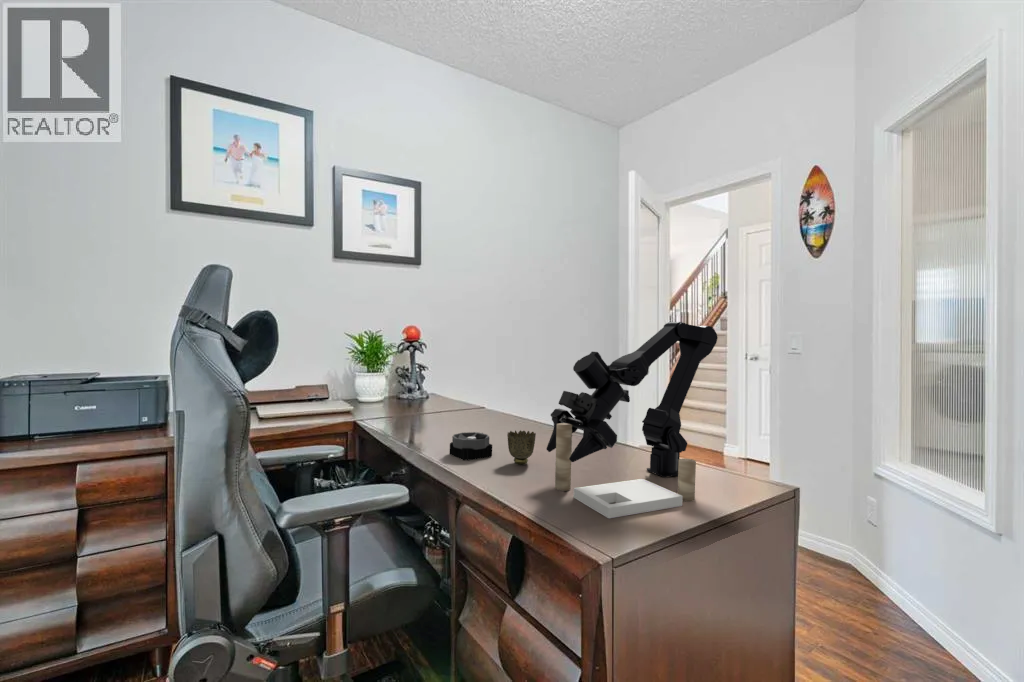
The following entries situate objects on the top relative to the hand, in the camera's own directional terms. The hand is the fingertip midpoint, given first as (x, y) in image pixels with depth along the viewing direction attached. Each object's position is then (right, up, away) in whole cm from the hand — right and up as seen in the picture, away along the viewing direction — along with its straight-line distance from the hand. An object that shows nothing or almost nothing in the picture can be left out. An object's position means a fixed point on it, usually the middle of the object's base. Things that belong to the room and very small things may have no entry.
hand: (558, 455), depth 105 cm
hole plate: (+13, -8, -7) cm, 17 cm away
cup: (-8, -7, +20) cm, 22 cm away
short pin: (+26, -8, -4) cm, 28 cm away
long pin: (+1, -7, +1) cm, 7 cm away
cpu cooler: (-22, -7, +27) cm, 35 cm away
